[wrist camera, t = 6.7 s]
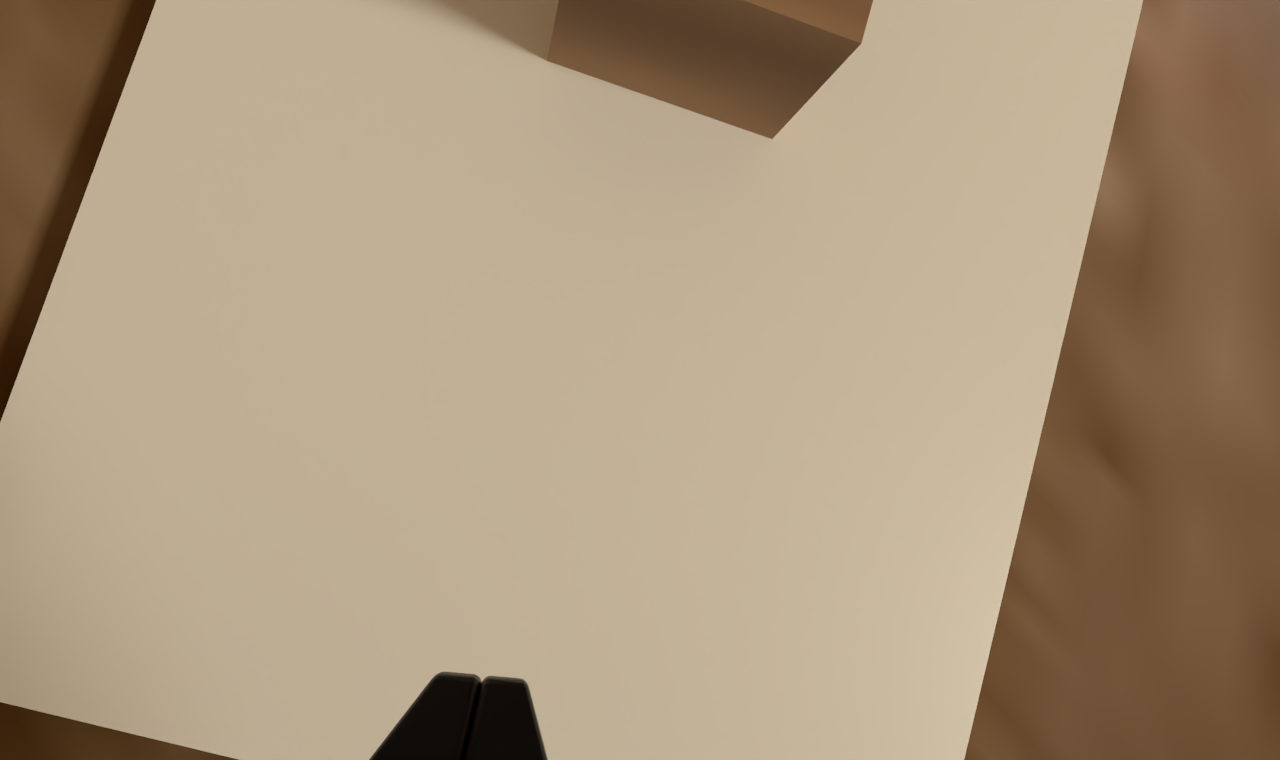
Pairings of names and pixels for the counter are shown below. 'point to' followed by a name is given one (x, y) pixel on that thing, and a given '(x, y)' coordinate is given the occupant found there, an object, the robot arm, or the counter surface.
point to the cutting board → (547, 383)
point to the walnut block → (713, 51)
